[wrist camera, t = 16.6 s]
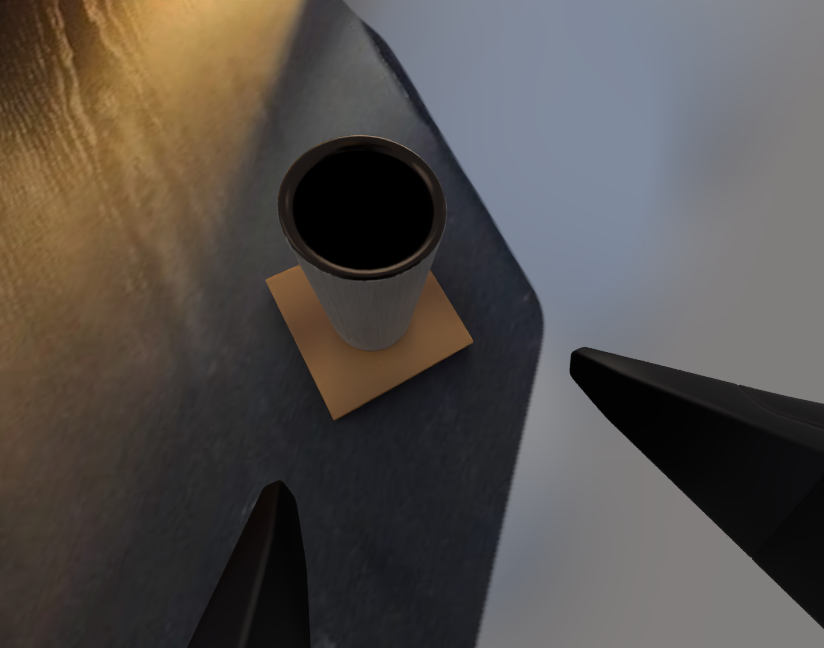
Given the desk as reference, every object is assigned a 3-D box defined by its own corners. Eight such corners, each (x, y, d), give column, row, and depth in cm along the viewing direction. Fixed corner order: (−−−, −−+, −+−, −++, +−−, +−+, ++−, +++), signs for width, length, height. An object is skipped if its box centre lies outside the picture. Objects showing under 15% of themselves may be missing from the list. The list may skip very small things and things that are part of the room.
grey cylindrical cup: (416, 346, 18) (463, 270, 8) (336, 357, 17) (280, 290, 7) (404, 273, 19) (432, 129, 9) (328, 281, 18) (270, 135, 9)
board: (468, 345, 20) (474, 341, 18) (336, 420, 18) (333, 420, 16) (399, 230, 21) (400, 220, 20) (271, 287, 19) (264, 279, 18)
